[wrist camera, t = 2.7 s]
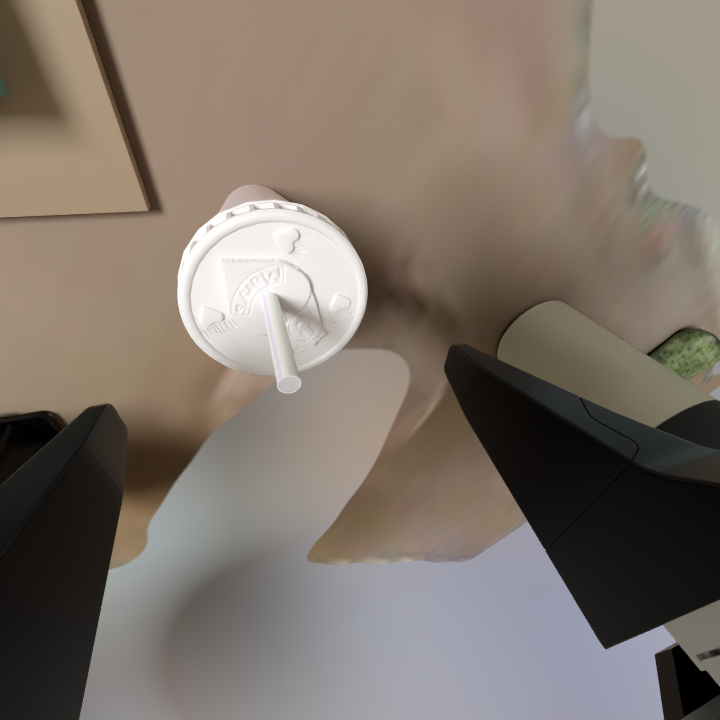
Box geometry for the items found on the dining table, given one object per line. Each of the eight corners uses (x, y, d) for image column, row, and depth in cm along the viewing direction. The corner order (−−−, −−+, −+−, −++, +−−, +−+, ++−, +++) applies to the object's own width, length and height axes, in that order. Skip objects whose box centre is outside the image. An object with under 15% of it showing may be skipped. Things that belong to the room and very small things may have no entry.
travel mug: (485, 336, 30) (689, 530, 17) (562, 281, 29) (847, 445, 16) (505, 379, 36) (673, 552, 22) (571, 334, 34) (790, 490, 21)
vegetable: (690, 313, 40) (737, 337, 36) (691, 334, 43) (735, 357, 39) (588, 389, 43) (622, 417, 40) (596, 403, 47) (628, 430, 43)
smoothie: (251, 121, 16) (310, 193, 5) (336, 223, 20) (462, 373, 10) (165, 219, 17) (83, 425, 7) (263, 295, 21) (303, 494, 11)
